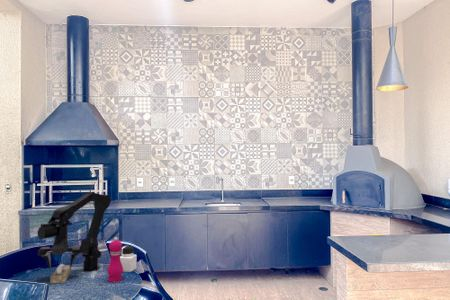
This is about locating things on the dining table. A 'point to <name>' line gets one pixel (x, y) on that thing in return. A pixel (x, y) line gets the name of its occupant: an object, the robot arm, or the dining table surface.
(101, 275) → the dining table surface
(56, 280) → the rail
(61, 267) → the clip
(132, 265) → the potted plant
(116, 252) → the pepper mill
